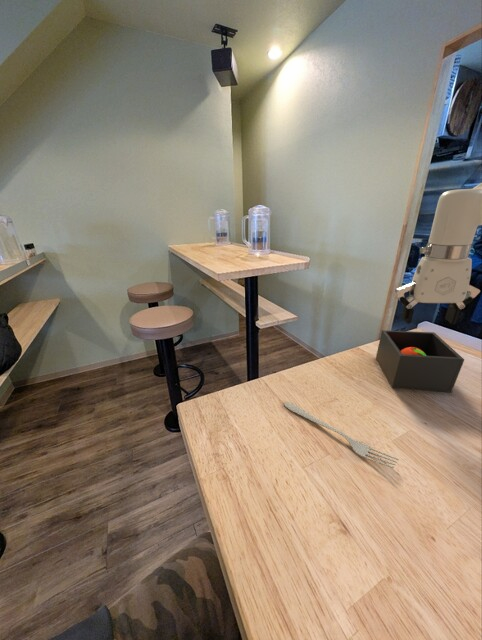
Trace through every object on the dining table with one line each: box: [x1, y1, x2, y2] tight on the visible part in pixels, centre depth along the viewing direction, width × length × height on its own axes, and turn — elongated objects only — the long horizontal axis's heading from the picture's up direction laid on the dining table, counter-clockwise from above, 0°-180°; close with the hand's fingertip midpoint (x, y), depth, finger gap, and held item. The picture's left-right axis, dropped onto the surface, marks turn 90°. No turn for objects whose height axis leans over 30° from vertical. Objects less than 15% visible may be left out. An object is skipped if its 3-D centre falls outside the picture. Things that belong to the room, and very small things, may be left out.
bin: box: [375, 329, 465, 393], centre depth 67 cm, size 14×14×10 cm
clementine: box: [401, 347, 427, 356], centre depth 68 cm, size 8×7×7 cm
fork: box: [283, 401, 399, 469], centre depth 53 cm, size 3×24×2 cm, turn 45°
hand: (427, 321), depth 63 cm, fingers open, 9 cm apart
